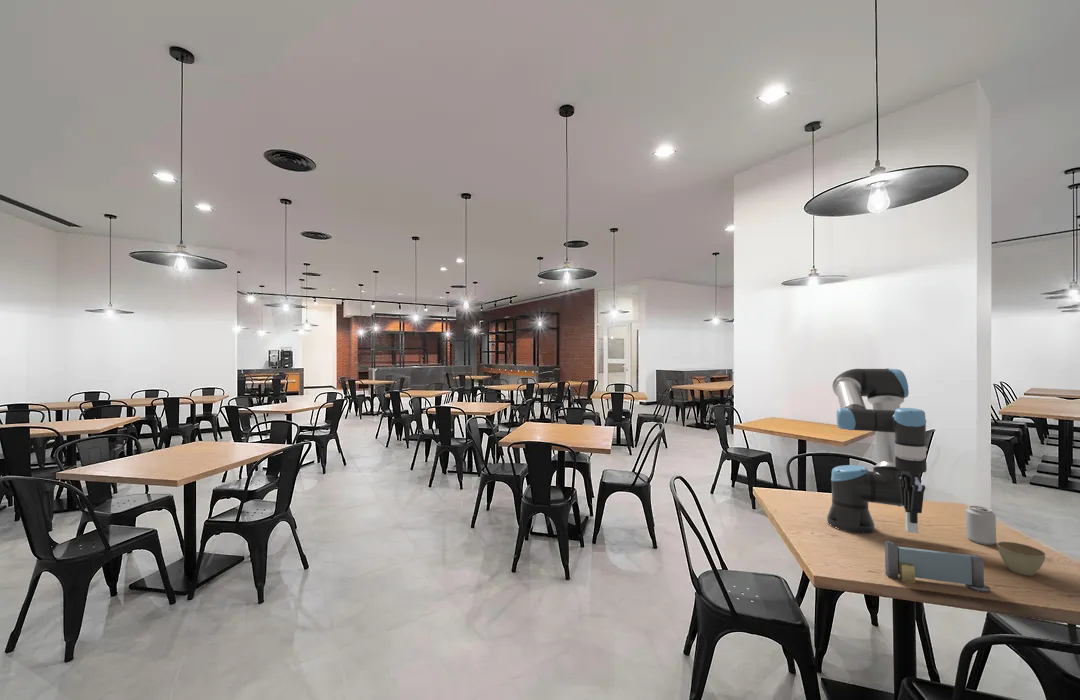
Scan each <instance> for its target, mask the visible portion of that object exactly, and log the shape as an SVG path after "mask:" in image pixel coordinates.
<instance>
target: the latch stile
mask: <svg viewBox="0 0 1080 700" xmlns="http://www.w3.org/2000/svg"><path fill="white" fill-rule="evenodd" d="M898 547H899V545H898V544H897V543H896V542H895V541H888V540H885V541H884V559H885V562H884V565H885V575H886V576H887V577H888V578H889V579H896V580H900V581H901V582H902V583H907V584H916V578H915V567H914V566H913V565H912V564H911V563H903V562H899V574H898Z"/></svg>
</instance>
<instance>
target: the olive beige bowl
mask: <svg viewBox="0 0 1080 700" xmlns="http://www.w3.org/2000/svg"><path fill="white" fill-rule="evenodd" d="M996 546H997V550H998V553H999V555H1000V558H1001V559H1002V561H1003V562H1004V564H1005V566H1006V567H1007V568H1008V570H1010V572H1013V573H1015V574H1018V575H1022V576H1023V575H1024V576H1027V577H1028V576H1034V575H1035V574H1037V572H1039V570H1040V569H1041V568H1042V566H1043V564H1044V561H1045V558H1046V553H1045V552H1044V551H1042V550H1041V549H1039V548H1036V547H1033V546H1030V545H1028V544H1024V543H1019V542H1013V541H999V542H996Z"/></svg>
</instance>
